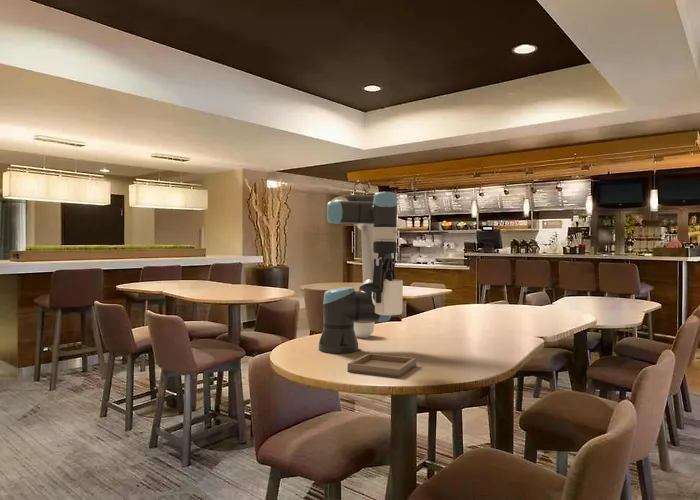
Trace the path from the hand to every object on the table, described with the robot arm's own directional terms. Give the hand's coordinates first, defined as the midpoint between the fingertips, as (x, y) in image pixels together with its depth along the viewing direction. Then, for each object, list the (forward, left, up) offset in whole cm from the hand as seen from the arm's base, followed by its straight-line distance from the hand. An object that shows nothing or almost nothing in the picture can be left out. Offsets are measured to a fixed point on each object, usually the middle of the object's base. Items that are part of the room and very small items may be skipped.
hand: (384, 311), depth 160 cm
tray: (0, 0, -18) cm, 18 cm away
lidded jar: (-29, +51, -19) cm, 62 cm away
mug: (0, +1, -1) cm, 1 cm away
